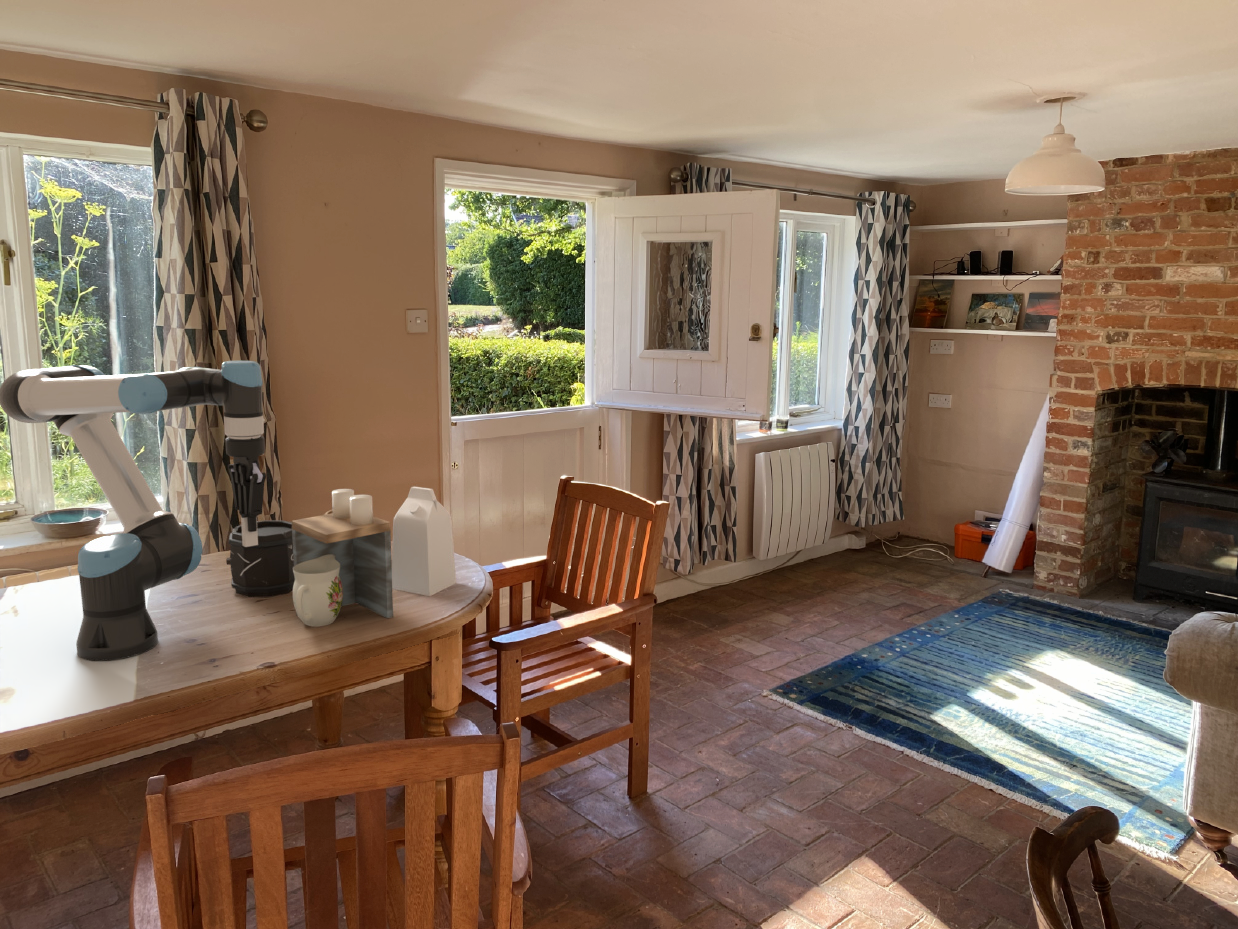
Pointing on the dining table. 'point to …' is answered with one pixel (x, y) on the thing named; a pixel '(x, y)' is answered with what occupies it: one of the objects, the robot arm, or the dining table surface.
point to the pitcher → (318, 590)
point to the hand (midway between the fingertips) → (250, 545)
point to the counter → (351, 557)
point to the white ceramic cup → (361, 510)
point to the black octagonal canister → (263, 560)
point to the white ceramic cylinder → (341, 503)
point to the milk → (422, 545)
